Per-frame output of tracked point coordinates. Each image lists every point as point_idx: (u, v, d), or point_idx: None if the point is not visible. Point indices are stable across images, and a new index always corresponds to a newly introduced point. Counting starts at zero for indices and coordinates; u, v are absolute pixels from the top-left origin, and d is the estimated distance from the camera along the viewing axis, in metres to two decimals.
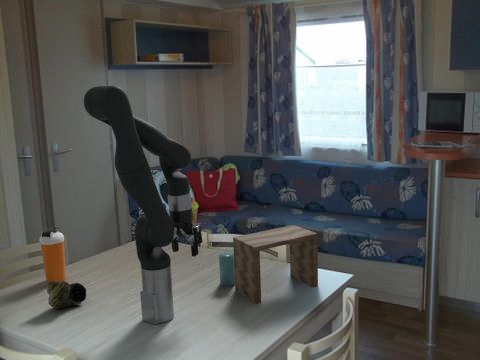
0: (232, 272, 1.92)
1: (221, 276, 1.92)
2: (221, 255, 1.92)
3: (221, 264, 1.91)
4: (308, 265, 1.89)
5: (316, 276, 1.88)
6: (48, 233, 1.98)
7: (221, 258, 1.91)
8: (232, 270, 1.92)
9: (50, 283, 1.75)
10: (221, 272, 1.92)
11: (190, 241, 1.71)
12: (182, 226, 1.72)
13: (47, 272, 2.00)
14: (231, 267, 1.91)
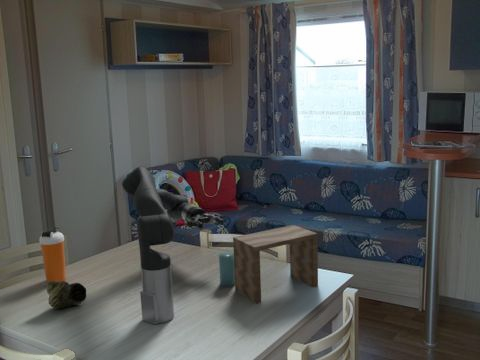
0: (232, 272, 1.92)
1: (221, 276, 1.92)
2: (221, 255, 1.92)
3: (221, 264, 1.91)
4: (308, 265, 1.89)
5: (316, 276, 1.88)
6: (48, 233, 1.98)
7: (221, 258, 1.91)
8: (232, 270, 1.92)
9: (50, 283, 1.75)
10: (221, 272, 1.92)
11: (215, 216, 2.07)
12: (203, 215, 2.09)
13: (47, 272, 2.00)
14: (231, 267, 1.91)
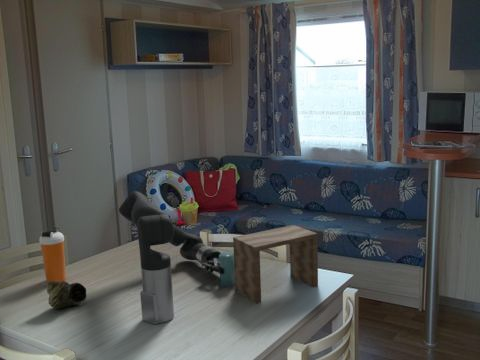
0: (232, 272, 1.92)
1: (221, 276, 1.92)
2: (221, 255, 1.92)
3: (221, 264, 1.91)
4: (308, 265, 1.89)
5: (316, 276, 1.88)
6: (48, 233, 1.98)
7: (221, 258, 1.91)
8: (232, 270, 1.92)
9: (50, 283, 1.75)
10: None
11: None
12: None
13: (47, 272, 2.00)
14: (231, 267, 1.91)
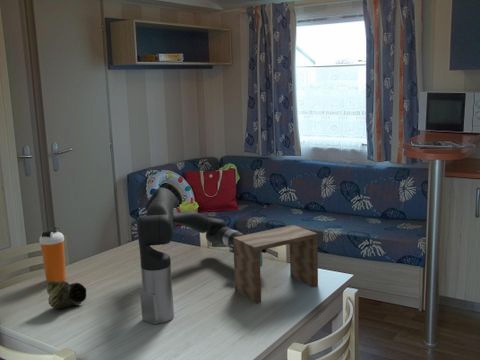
0: None
1: None
2: None
3: None
4: (308, 265, 1.89)
5: (316, 276, 1.88)
6: (48, 233, 1.98)
7: None
8: (260, 252, 1.97)
9: (50, 283, 1.75)
10: None
11: None
12: None
13: (47, 272, 2.00)
14: None
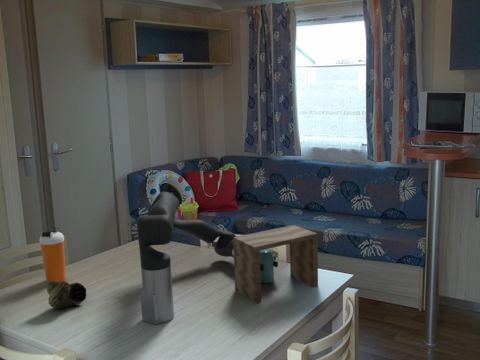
0: (271, 268, 1.91)
1: (260, 272, 1.92)
2: (260, 251, 1.92)
3: (260, 260, 1.91)
4: (308, 265, 1.89)
5: (316, 276, 1.88)
6: (48, 233, 1.98)
7: (260, 254, 1.90)
8: (271, 266, 1.91)
9: (50, 283, 1.75)
10: None
11: None
12: None
13: (47, 272, 2.00)
14: (271, 263, 1.91)
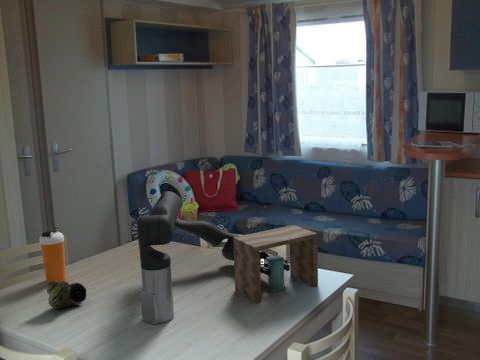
0: (281, 277, 1.86)
1: (270, 280, 1.86)
2: (270, 259, 1.86)
3: (270, 268, 1.85)
4: (308, 265, 1.89)
5: (316, 276, 1.88)
6: (48, 233, 1.98)
7: (270, 262, 1.85)
8: (281, 274, 1.86)
9: (50, 283, 1.75)
10: (270, 276, 1.86)
11: None
12: (266, 259, 1.95)
13: (47, 272, 2.00)
14: (281, 271, 1.85)
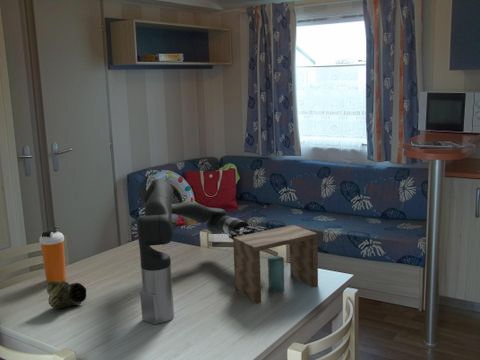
0: (281, 277, 1.86)
1: (270, 280, 1.86)
2: (270, 259, 1.86)
3: (270, 268, 1.85)
4: (308, 265, 1.89)
5: (316, 276, 1.88)
6: (48, 233, 1.98)
7: (270, 262, 1.85)
8: (281, 274, 1.86)
9: (50, 283, 1.75)
10: (270, 276, 1.86)
11: (259, 229, 2.02)
12: (246, 228, 2.05)
13: (47, 272, 2.00)
14: (281, 271, 1.85)
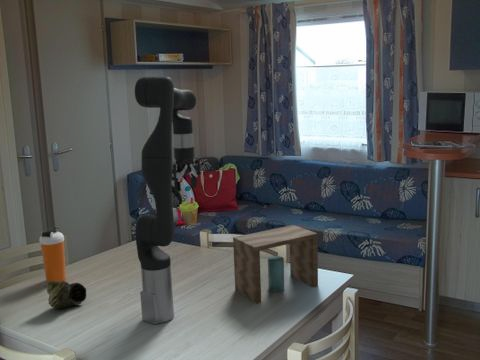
0: (281, 277, 1.86)
1: (270, 280, 1.86)
2: (270, 259, 1.86)
3: (270, 268, 1.85)
4: (308, 265, 1.89)
5: (316, 276, 1.88)
6: (48, 233, 1.98)
7: (270, 262, 1.85)
8: (281, 274, 1.86)
9: (50, 283, 1.75)
10: (270, 276, 1.86)
11: (195, 173, 1.98)
12: (189, 162, 1.95)
13: (47, 272, 2.00)
14: (281, 271, 1.85)
